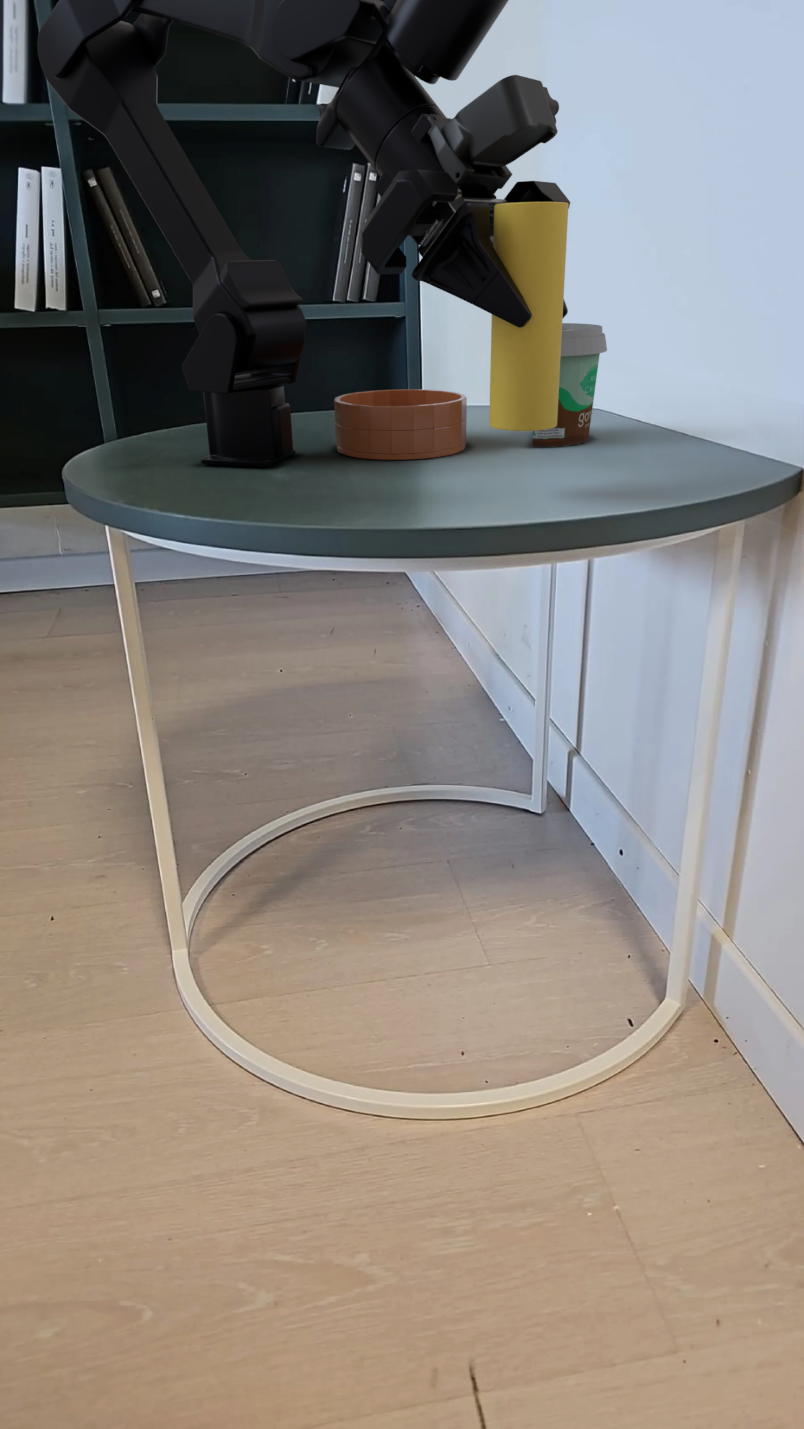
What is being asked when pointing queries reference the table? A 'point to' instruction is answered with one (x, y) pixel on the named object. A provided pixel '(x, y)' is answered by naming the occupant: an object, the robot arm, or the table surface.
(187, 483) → the table surface
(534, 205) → the tall yellow cylinder
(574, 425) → the paper coffee cup
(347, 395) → the bowl
